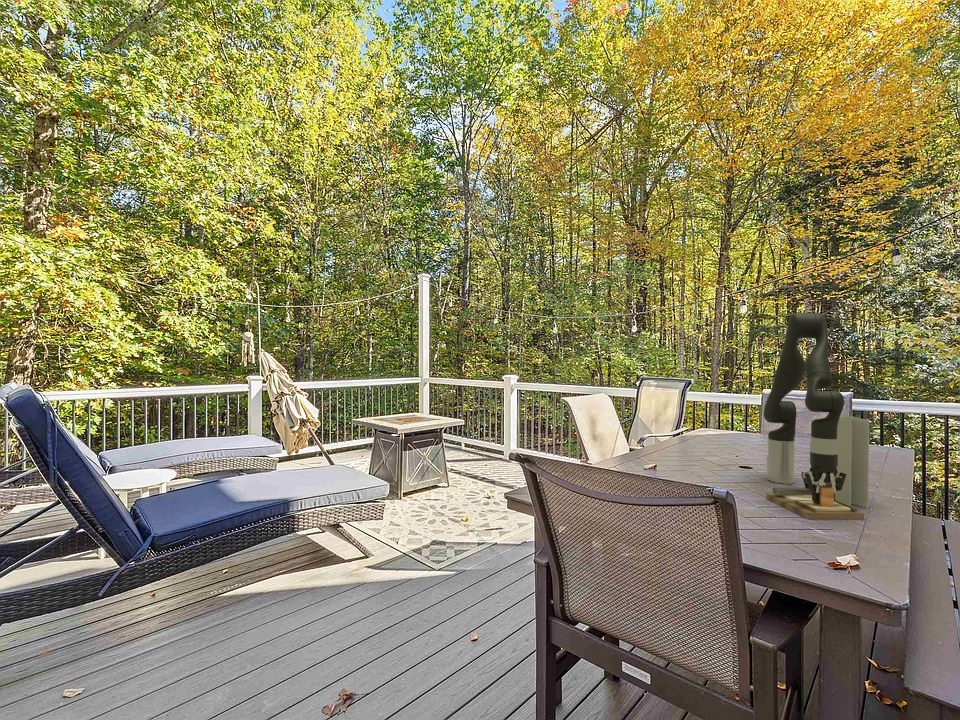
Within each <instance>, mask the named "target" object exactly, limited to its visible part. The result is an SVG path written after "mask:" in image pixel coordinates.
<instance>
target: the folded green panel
mask: <svg viewBox="0 0 960 720" xmlns="http://www.w3.org/2000/svg"><path fill="white" fill-rule="evenodd" d="M837 442H838V466H837V467H836V468H837V470H838V472H842V473H845V474H846V478H845V481H844V484H843V487H842V490H841V491H836V492H835V500H836V501H839V502H841V503H844V504H846V505H849V506H851V507H852V504H853V505H856V506H858V505H859V507H861V506H862V507H861V508H864V507H865V508H864V509H867V508H868V509H869V494H870V493H869V492H870V491H869V489H870V487H869V485H870V484H869V482H870V477H869V474H870V473H869V472H870V467H869V466H870V420H868V419H864V418H859V417H856V416H850V415H845V416H841V415H840V418H839V422H838V426H837ZM835 478H836V476H835ZM835 478H834V480H835Z"/></svg>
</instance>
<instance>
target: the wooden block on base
mask: <svg viewBox="0 0 960 720" xmlns="http://www.w3.org/2000/svg"><path fill="white" fill-rule="evenodd" d="M819 493H820V504H816V503H814V502H813V501H799V502H801V503H804V504H806V505H808V506H810V507H813V508H815V509H816V511H851V508H848V507H846V506H844V505H841V504H839V503H836V502H834V488H832V487H829V486H826V484H823V485H822V486H821V488H820V492H819Z"/></svg>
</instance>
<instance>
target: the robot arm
mask: <svg viewBox="0 0 960 720" xmlns="http://www.w3.org/2000/svg"><path fill="white" fill-rule="evenodd" d="M789 317H790V318H789V319H788V321H787V322H788V323H787V328H786V331H785V332H786V333H785V337H784V344H783V347H782V351H781V354H780V355H781V356H780V358H779V361H778V364H777V367H776V371H775V374H774V379H773V383H772V387H771V390H770V392H769V394H768V396H767V399H766V402H765V405H764V407H763V418H764V420H765V421H766V422H767V423H771V424H782V425H781V427H779V428H776V429H773V430H771V431H769V432H768V435H767V440H768V443H767V448H768V449H767V454H768V455H767V457H766V479H767V480H768V481H769V480H770V481H769V482H773V483H776V484H785V485H787V484H788V485H789V484H794V483H795V437H796V424H797V406H796V403H794V401H790V400H783V399H784V398H785V397H786V396H787V395H789V394H790V393H791V392H792V391H794V390H795V389H797V388H798V387H799V385H801V383H802V381H803V379H804V376H805V375H806V376H805V377H806V381H807V386H806V388H807V389H806V393H805V399H804V405H805V407H806V409H808V411H811V412H815V413H827V415H826V416H825V417H822V418H816V419H813V420H812V421H811V423H810V443H809V463H810V469H809V471H808V470H807V471H802V472H801V473H800V474H801V478H802V481H803V484H804V487H806V489H809V490H811V491H812V501H813V502H814V503H816V504H820V493H819V492H820V488H821V486H822V485H826V486H829V487H832V488H834V502H835V500H836V499H835V492H836V491H841V490H842V487H843V484H844V481H845V478H846V474H845V473H842V472H838V470H837V468H836V467H837V466H838V442H837V426H838V422H839V418H840V416H841V415H842V412H843V409H844V406H845V397H844V395H843V394H842V392H839V391H837V390H824V389H827V388H829V387H831V386H832V385H833V382H834V380H833V375H832V371H831V366H830V362H829V361H830V360H829V340H828V324H827V318H826V316H825V315H824V314H823V313H820V312H794V313H792V314H791V316H789ZM799 339H814V340H815V345H814V347H813V349H812V350H811V352H810V354H808V357H807V358H806V360H805V358H804V357H803V355H802V353H801V352H800V350H799V348H798V345H797V343H798V340H799ZM835 476H836V478H835ZM834 478H835V480H834Z"/></svg>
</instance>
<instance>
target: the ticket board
mask: <svg viewBox="0 0 960 720" xmlns="http://www.w3.org/2000/svg"><path fill="white" fill-rule="evenodd" d="M772 491H773V492H772V493H770V492H766V494H765V499H766V500H768V501H769V502H772V503H774V504H776V505H778V506H780V507H782V508H784V509H786V510H788V511H790V512H792V513H794V514H797V515H798V516H800V517H802V518H804V519H806V520H865V512H863V511H860V510H858V509H857V508H855V507H853V506H852V505H851V506H849V505H846V504H844V503H841V502H839V501H838V500H836V499H835V502H836V503H839V504H841V505H844V506H846V507H848V508H851V511H816V509H815V508H813V507H810V506H808V505H806V504H804V503H801V502H799V501H812V491H811V490H809V489H806V487H805V486H804V487H800V486H799V487H796V486H795V487H791V486H790V487H782V486H781V487H773V489H772Z"/></svg>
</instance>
